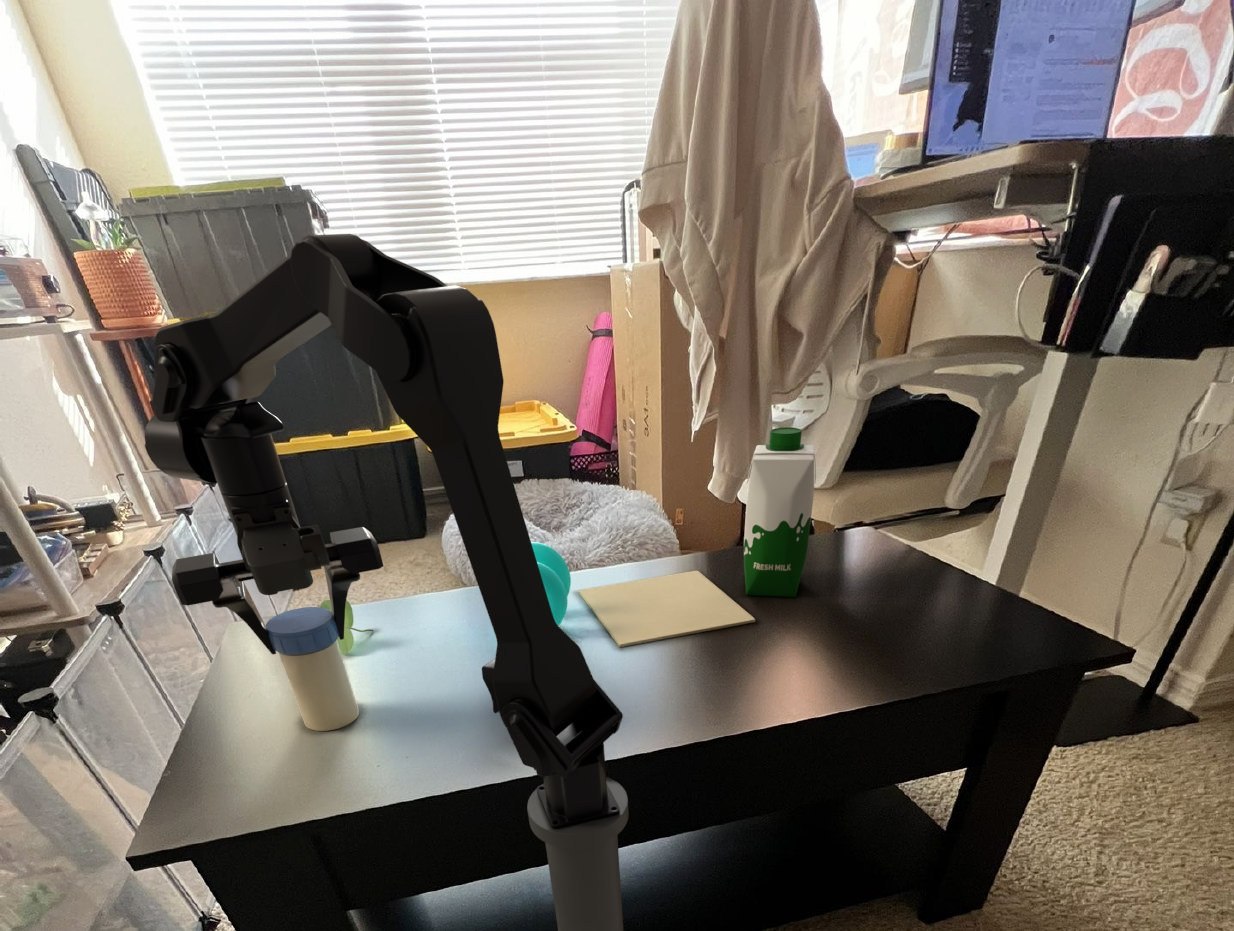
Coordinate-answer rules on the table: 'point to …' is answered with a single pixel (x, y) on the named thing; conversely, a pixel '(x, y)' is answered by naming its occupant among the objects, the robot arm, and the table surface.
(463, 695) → the table surface
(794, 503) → the milk carton
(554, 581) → the turquoise spool
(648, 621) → the placemat
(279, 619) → the lid
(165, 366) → the robot arm
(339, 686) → the jar
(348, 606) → the green clover
